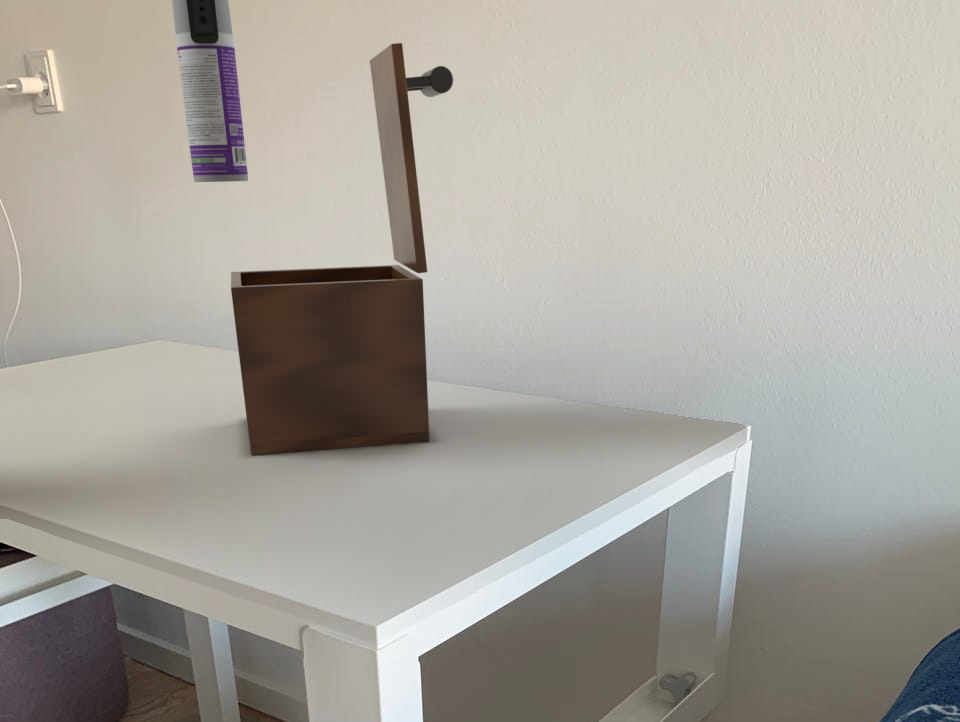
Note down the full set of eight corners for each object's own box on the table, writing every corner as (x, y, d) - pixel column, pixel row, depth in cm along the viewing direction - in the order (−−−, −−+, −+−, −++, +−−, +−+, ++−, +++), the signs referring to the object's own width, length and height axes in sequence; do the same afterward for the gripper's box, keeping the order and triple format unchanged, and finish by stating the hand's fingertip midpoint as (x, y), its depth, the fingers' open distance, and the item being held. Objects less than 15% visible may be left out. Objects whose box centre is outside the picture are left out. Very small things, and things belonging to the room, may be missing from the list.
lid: (391, 43, 71) (460, 37, 71) (369, 60, 82) (429, 54, 83) (417, 273, 78) (480, 265, 78) (394, 259, 89) (449, 253, 89)
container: (232, 180, 91) (210, -15, 85) (258, 180, 88) (237, -23, 81) (184, 182, 88) (158, -20, 82) (209, 182, 85) (184, -28, 79)
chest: (251, 455, 81) (230, 287, 75) (248, 420, 92) (230, 271, 86) (429, 441, 83) (422, 279, 78) (406, 409, 94) (398, 264, 89)
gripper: (130, -187, 82) (161, 54, 89) (116, -251, 69) (155, 36, 77) (224, -182, 83) (247, 55, 91) (227, -243, 71) (254, 37, 78)
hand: (205, 45), depth 84 cm, fingers closed on container, 4 cm apart
